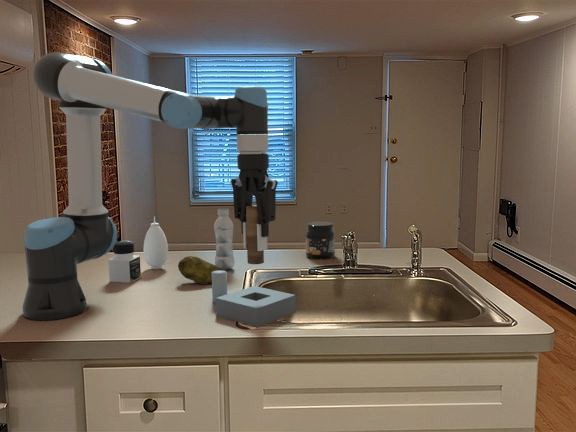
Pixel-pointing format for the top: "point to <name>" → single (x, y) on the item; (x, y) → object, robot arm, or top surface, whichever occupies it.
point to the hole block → (255, 305)
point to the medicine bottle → (124, 263)
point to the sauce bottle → (155, 246)
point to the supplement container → (320, 240)
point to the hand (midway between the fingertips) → (255, 248)
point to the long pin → (253, 236)
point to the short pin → (219, 284)
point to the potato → (197, 269)
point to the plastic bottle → (224, 240)
